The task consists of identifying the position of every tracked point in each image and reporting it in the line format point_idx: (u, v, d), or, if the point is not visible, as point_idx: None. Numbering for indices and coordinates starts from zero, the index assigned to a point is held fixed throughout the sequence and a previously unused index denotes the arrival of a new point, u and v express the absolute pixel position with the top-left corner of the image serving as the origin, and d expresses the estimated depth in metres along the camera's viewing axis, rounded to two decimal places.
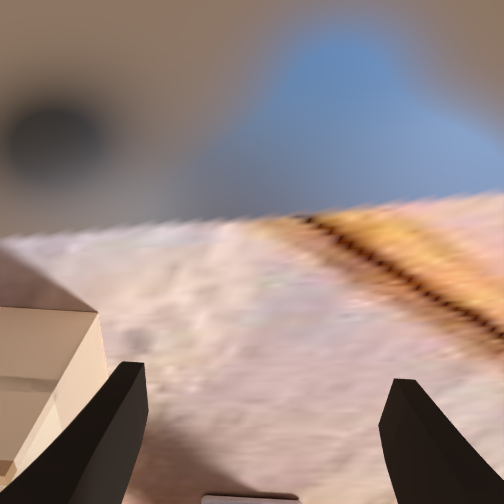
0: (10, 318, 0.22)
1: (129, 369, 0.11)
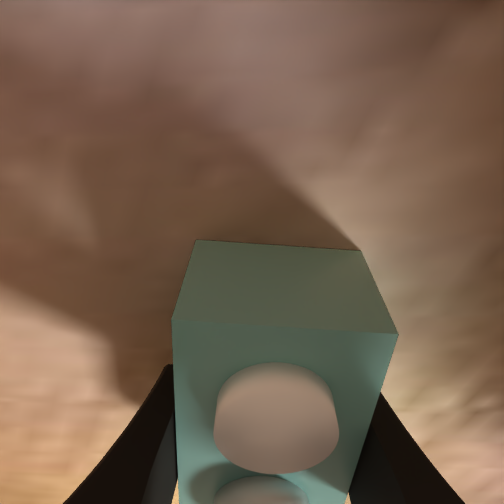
0: None
1: None
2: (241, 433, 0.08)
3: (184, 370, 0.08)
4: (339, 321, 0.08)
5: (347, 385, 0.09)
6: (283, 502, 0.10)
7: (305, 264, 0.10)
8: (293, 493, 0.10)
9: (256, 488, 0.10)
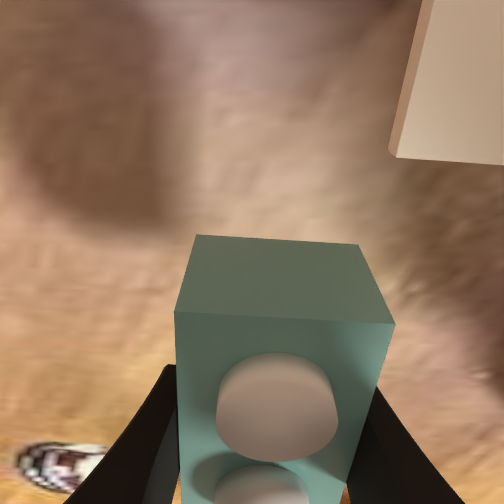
0: None
1: None
2: (242, 422, 0.08)
3: (186, 361, 0.09)
4: (338, 312, 0.08)
5: (345, 375, 0.09)
6: (283, 490, 0.10)
7: (304, 257, 0.10)
8: (293, 482, 0.10)
9: (257, 477, 0.10)
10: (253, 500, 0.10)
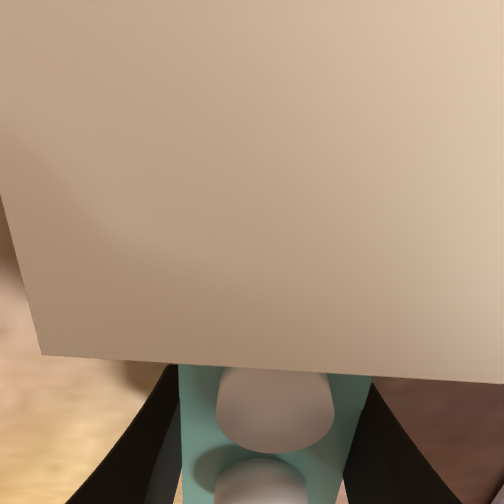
0: None
1: (177, 371, 0.11)
2: (242, 413, 0.09)
3: None
4: None
5: None
6: (282, 482, 0.10)
7: None
8: (291, 474, 0.11)
9: (256, 469, 0.10)
10: (252, 492, 0.10)
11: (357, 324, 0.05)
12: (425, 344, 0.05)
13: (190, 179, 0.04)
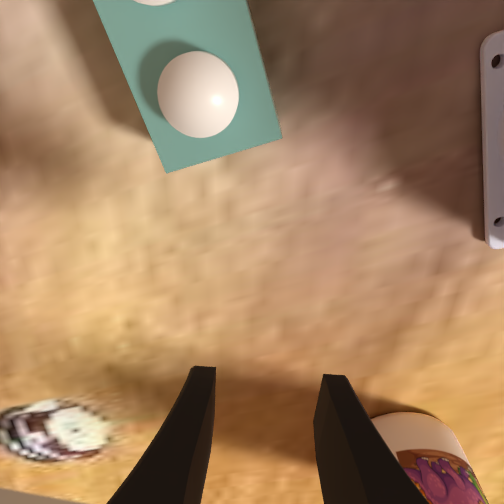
0: None
1: (203, 374, 0.11)
2: None
3: None
4: None
5: None
6: (198, 52, 0.12)
7: None
8: (210, 54, 0.13)
9: (179, 56, 0.13)
10: (176, 64, 0.12)
11: None
12: None
13: None
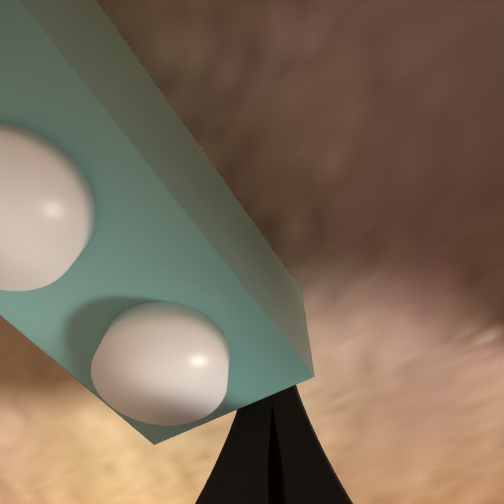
0: None
1: None
2: None
3: None
4: None
5: (47, 110, 0.06)
6: (139, 321, 0.07)
7: None
8: (161, 309, 0.07)
9: (114, 325, 0.08)
10: (109, 351, 0.07)
11: None
12: None
13: None
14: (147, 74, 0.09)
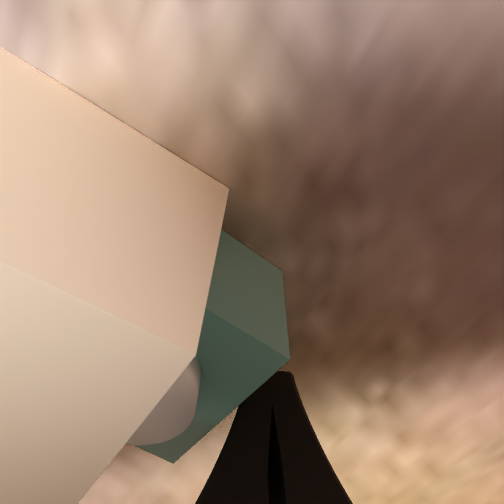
0: None
1: None
2: None
3: None
4: None
5: None
6: None
7: None
8: None
9: None
10: None
11: (29, 473, 0.06)
12: (67, 447, 0.06)
13: None
14: None
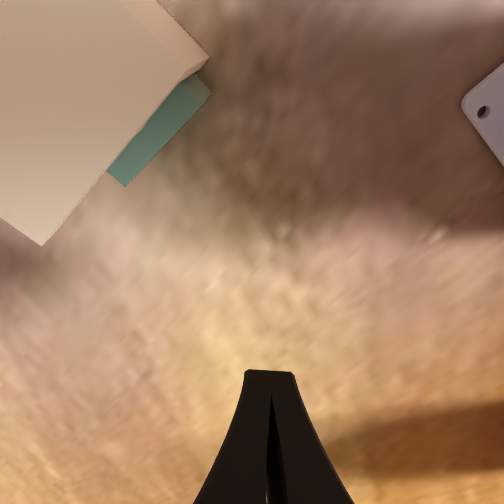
0: None
1: (260, 377, 0.11)
2: None
3: None
4: None
5: None
6: None
7: None
8: None
9: None
10: None
11: (88, 138, 0.12)
12: (113, 121, 0.12)
13: None
14: None
